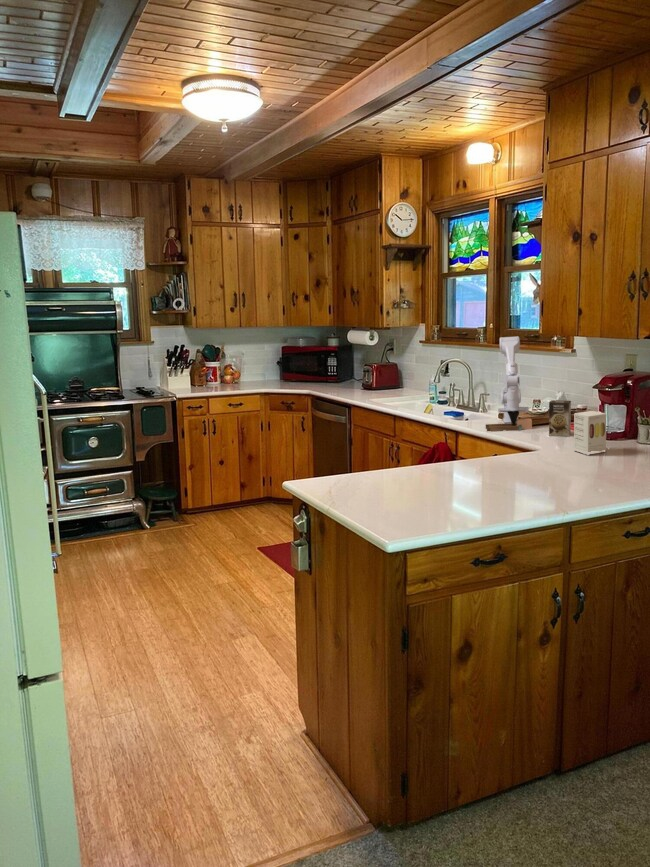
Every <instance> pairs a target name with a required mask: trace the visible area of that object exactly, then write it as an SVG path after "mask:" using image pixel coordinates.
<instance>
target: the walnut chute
mask: <svg viewBox="0 0 650 867" xmlns="http://www.w3.org/2000/svg"><path fill="white" fill-rule="evenodd" d="M485 430H486V432H487V431H491V432H504V431H503V430H506V431H505V432H507V431H522V430H523V429H522V425H521V424H518V426H516V424H515V426H512V422H510V423H490V424H489V423H486V424H485Z"/></svg>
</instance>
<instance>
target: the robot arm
mask: <svg viewBox="0 0 650 867" xmlns="http://www.w3.org/2000/svg"><path fill="white" fill-rule="evenodd" d="M520 342H521V340H520V337H519V336H518V335H517V336H505V337H502V336H501V337H499V352H500V354H502V355H504V359H505V361H504V362H505V386H503V388H501V390H500V402H501V404H502V405H503V407H501V408H500V407H499V408H497V413H498V414H501V413H503V418H502V421H503V424H505V423H512V426H515V424H516V420H517V419H519V414H520V413H521V412H529V409H530V408H529V406H520V403H521V402H522V394H521V389H520V388H519V387H520V384H521V383H520V382H521V381H520V380H521V378H520V374H519V371H518V370H519V369H518V363H516V358H515V356H516V354H517V353H519V351H520V347H521V346H520V345H521V343H520Z"/></svg>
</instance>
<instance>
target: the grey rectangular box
mask: <svg viewBox="0 0 650 867" xmlns="http://www.w3.org/2000/svg"><path fill="white" fill-rule="evenodd" d="M571 407H572V401H571V400H557V399H556V400H553V399H552V400H550V401H549V402H548V436H549V437H567V438H568V437H570V435H571V433H572V432H571V426H572V425H571V424H572V422H571V420H572V419H571V418H572V417H571V416H572V415H571V412H572V411H571V410H572V408H571Z"/></svg>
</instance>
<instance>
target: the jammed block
mask: <svg viewBox="0 0 650 867" xmlns="http://www.w3.org/2000/svg"><path fill="white" fill-rule="evenodd" d="M518 424H521V425H522V430H530V429H531V430H532V429H533V421H532V418H531V417H530V418H518V419H517V420H516V426H518Z"/></svg>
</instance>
